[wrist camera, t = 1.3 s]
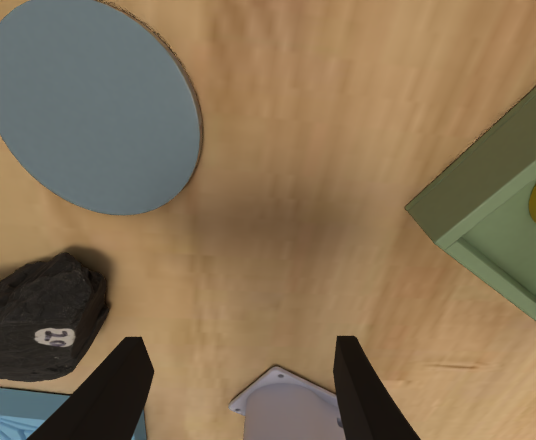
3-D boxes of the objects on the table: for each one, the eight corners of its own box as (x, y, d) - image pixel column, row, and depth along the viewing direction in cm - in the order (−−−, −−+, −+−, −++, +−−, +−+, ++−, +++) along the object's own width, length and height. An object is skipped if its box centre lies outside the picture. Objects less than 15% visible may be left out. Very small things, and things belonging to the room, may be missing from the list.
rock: (119, 256, 21) (65, 323, 16) (104, 344, 26) (59, 417, 20) (-17, 213, 19) (-124, 270, 14) (-6, 314, 24) (-83, 384, 19)
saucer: (241, 98, 15) (239, 100, 15) (152, 238, 20) (147, 245, 19) (25, -66, 12) (10, -74, 12) (-22, 142, 17) (-35, 146, 16)
